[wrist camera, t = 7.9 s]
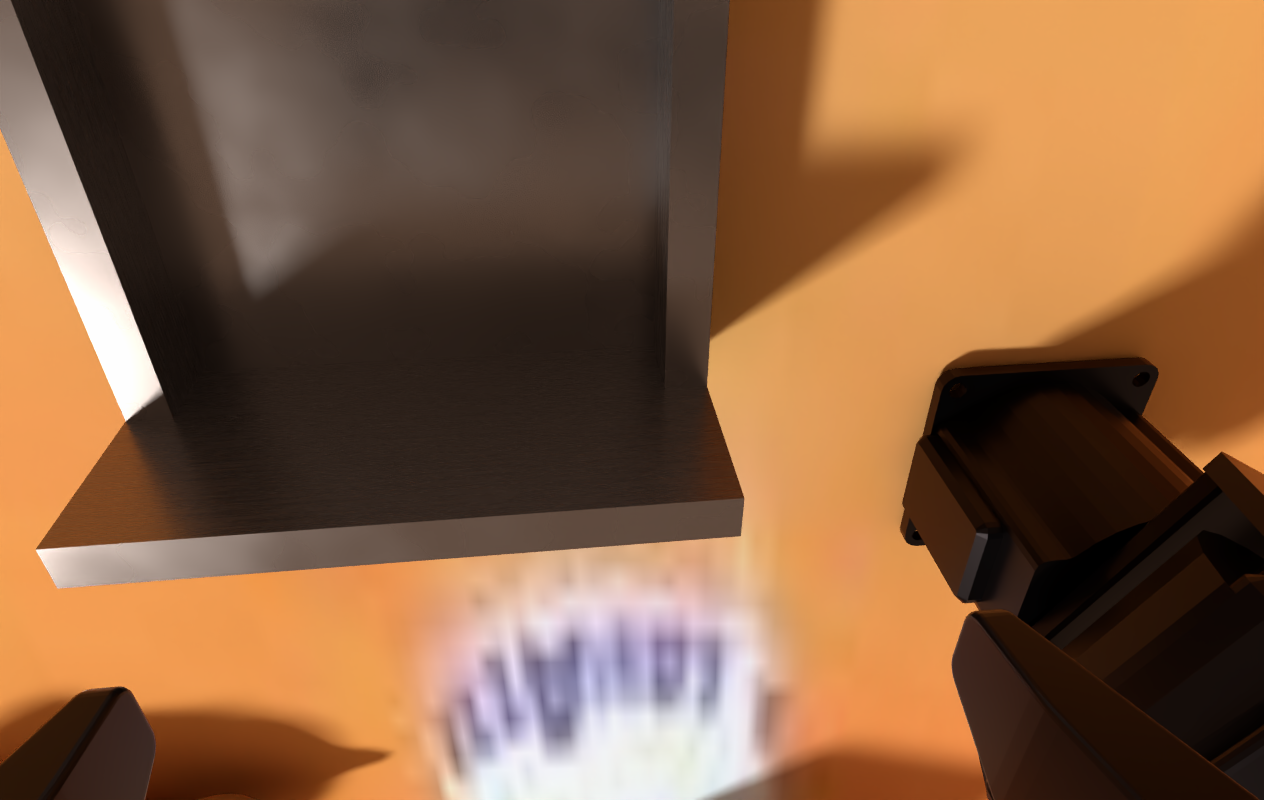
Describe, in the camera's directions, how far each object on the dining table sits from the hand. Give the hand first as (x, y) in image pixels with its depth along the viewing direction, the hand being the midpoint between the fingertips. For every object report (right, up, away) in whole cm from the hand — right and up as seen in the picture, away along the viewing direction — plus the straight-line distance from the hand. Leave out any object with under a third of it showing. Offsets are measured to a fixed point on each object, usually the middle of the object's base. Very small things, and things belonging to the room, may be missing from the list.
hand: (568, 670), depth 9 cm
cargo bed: (-4, +9, +9) cm, 13 cm away
